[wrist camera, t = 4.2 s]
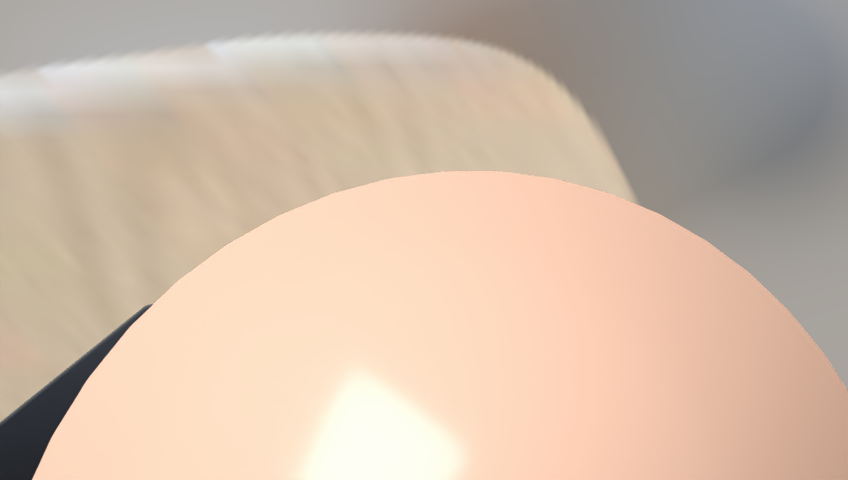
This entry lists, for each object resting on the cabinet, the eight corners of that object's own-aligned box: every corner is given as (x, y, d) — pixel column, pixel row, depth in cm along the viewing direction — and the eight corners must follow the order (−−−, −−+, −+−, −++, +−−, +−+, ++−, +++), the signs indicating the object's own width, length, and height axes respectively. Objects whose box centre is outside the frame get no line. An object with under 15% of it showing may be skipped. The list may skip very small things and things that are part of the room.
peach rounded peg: (491, 571, 15) (952, 1140, 4) (220, 571, 14) (-86, 1256, 3) (496, 306, 16) (894, 198, 5) (240, 294, 15) (45, 139, 4)
